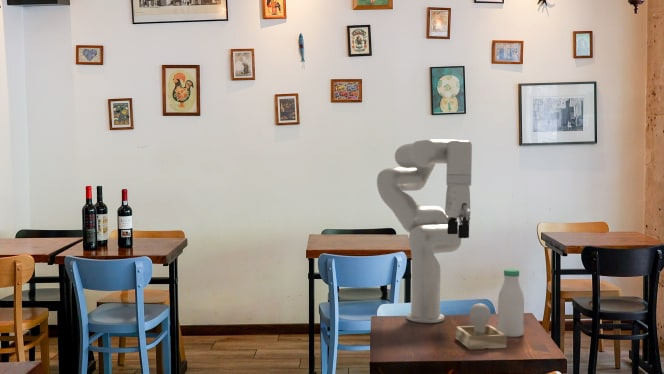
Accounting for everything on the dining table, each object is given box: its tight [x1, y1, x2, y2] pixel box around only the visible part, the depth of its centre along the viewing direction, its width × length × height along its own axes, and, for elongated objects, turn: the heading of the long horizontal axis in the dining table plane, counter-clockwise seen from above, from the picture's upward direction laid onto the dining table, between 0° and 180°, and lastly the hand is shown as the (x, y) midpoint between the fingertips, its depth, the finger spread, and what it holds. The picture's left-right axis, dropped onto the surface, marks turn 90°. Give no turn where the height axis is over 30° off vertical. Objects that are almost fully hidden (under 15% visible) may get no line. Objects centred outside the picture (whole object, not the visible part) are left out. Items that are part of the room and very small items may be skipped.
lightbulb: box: [469, 302, 491, 336], centre depth 212 cm, size 6×6×11 cm
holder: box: [455, 324, 508, 350], centre depth 212 cm, size 12×11×4 cm
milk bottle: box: [497, 268, 525, 338], centre depth 221 cm, size 8×8×20 cm
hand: (457, 236), depth 221 cm, fingers open, 9 cm apart
